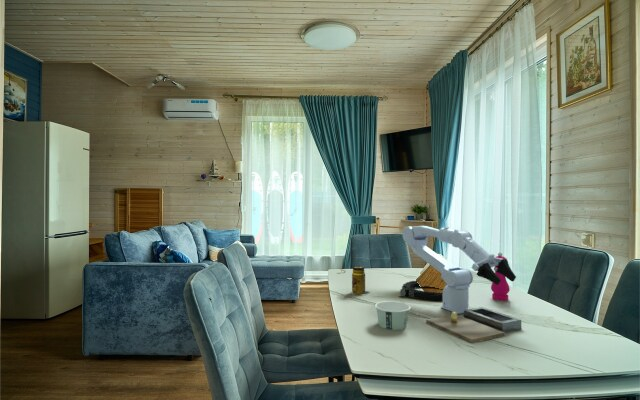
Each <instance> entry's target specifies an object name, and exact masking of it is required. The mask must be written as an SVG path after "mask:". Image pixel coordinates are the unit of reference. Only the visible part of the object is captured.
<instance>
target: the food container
mask: <svg viewBox="0 0 640 400" xmlns="http://www.w3.org/2000/svg"><path fill="white" fill-rule="evenodd" d="M374 307H375V309H376V314H377V315H376V316H377V320H378V321H377V322H378V326H379V327H381V328H383V329H386V330H394V331H397V330H403V329H405V328H407V324H408V319H409V313H410V310H411V306H410V305H409V304H408V303H405V302H401V301H393V300H392V301H391V300H389V301H388V300H387V301H378V302H377V303H375V304H374Z"/></svg>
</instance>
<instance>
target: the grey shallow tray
mask: <svg viewBox="0 0 640 400" xmlns="http://www.w3.org/2000/svg"><path fill="white" fill-rule="evenodd" d="M463 317H465V318H467V319H470V320H473V321H475V322H478V323H481V324H483V325H486V326H489V327H491V328H494V329H497V330H499V331H502V332H505V333H508V332H513V331H517V330H521V329H522V319H521V318H517V317H514V316H511V315H508V314H506V313H502V312H499V311H495V310H492V309H489V308H487V307H483V306H481V307H479V306H478V307H472V308H469V309H467V310H464V313H463Z"/></svg>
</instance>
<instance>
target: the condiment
mask: <svg viewBox="0 0 640 400" xmlns="http://www.w3.org/2000/svg"><path fill="white" fill-rule="evenodd" d="M351 289H352V290H351V292H349V293H348V294H349V295H355V296H365V295H368V294H369V293H370V292H371V290H366V273H365V267H364V266H353V267H352V273H351Z"/></svg>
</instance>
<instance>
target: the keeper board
mask: <svg viewBox="0 0 640 400" xmlns="http://www.w3.org/2000/svg"><path fill="white" fill-rule="evenodd" d="M425 322H426V324H428V323H429V325H431V326H433V325H434V326H433V327H435V326H436V328H437V327H438V328H437V329H440V330H442V331H444V332H446V331H447V333H448V332H449V333H448V334H451V335H454V336H455V337H457V336H458V338H460V339H462V340H464V341H466V340H467V342H469V343H471V344H474V343H477V341H478V342H482V341H481V340H483V341H487V340H491V339H490V338H492V339H495V338H500V337H505V336H506V335H505V333H506V332H502V331H499V330H497V329H494V328H491V327H489V326H486V325H483V324H481V323H478V322H475V321H473V320H470V319H467V318H465V317H464V316H462V315H459V314H457V313H456V312H452V311H451V314H450V315H446V316H445V315H444V316H440V317H433V318H428V319H425ZM486 339H487V340H486Z"/></svg>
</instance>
